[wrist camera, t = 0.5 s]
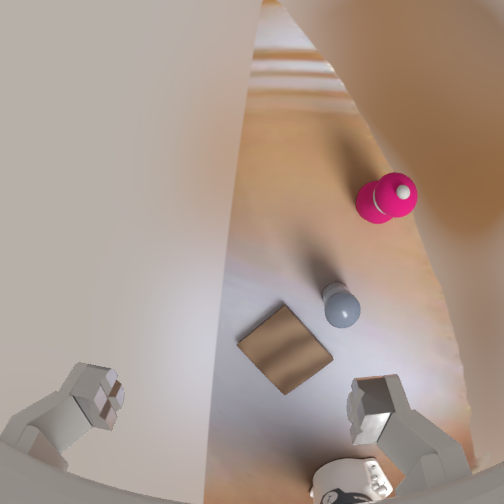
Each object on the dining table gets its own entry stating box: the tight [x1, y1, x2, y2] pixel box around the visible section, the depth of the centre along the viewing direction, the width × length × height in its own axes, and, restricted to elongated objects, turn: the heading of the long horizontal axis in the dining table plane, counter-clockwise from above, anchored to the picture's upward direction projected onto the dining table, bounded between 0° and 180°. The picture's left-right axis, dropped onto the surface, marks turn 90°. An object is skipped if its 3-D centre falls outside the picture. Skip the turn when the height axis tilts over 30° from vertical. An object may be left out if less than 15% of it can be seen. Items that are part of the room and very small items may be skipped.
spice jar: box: [323, 282, 361, 328], centre depth 51 cm, size 5×5×11 cm
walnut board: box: [237, 304, 333, 395], centre depth 58 cm, size 14×12×2 cm
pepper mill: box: [356, 172, 417, 224], centre depth 44 cm, size 7×7×20 cm
